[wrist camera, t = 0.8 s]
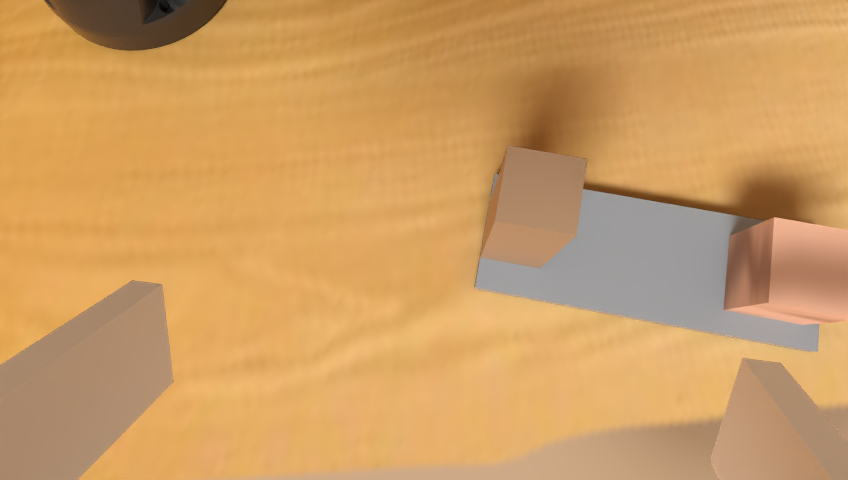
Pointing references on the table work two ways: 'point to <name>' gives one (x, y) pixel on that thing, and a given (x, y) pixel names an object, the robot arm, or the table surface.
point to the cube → (788, 272)
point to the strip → (614, 252)
